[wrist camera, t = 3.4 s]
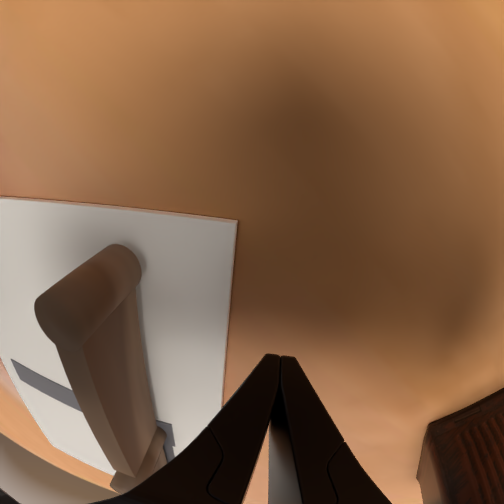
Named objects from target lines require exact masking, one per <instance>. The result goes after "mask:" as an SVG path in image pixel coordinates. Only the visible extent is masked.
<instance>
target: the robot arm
mask: <svg viewBox="0 0 504 504" xmlns="http://www.w3.org/2000/svg"><path fill="white" fill-rule="evenodd" d="M268 425H269V490H268V504H392V503H391V502H390V501H389V500H388V498H387V497H386V496H385V495H384V494H383V493H382V491H381V490H380V489H379V488H378V487H377V485H376V484H375V483H374V482H373V481H372V479H371V478H370V477H369V476H368V474H367V473H366V472H365V470H364V469H363V468H362V467H361V465H360V464H359V462H358V461H357V459H356V458H355V456H354V455H353V453H352V452H351V450H350V448H349V447H348V445H347V443H346V442H344V438H343V437H342V435H341V434H340V432H339V430H338V429H337V427H336V425H335V424H334V422H333V420H332V419H331V417H330V415H329V414H328V412H327V410H326V409H325V407H324V405H323V404H322V402H321V400H320V398H319V397H318V395H317V393H316V392H315V390H314V388H313V387H312V385H311V383H310V382H309V380H308V378H307V377H306V375H305V373H304V371H303V370H302V368H301V366H300V365H299V363H298V361H297V360H296V358H295V357H291V356H284V355H283V356H281V357H280V356H279V355H276V354H269V353H267V354H265V355H264V357H263V358H262V359H261V361H260V362H259V363H258V364H257V366H256V367H255V368H254V369H253V371H252V372H251V373H250V375H249V376H248V377H247V378H246V380H245V381H244V382H243V383H242V384H241V386H240V387H239V388H238V389H237V391H236V392H235V393H234V394H233V395H232V397H231V398H230V399H229V400H228V401H227V403H226V404H225V405H224V406H223V407H222V409H221V410H220V411H219V412H218V413H217V414H216V416H215V417H214V418H213V419H212V420H211V421H210V423H209V424H208V425H207V427H205V428H204V429H203V430H202V431H201V433H200V434H199V435H198V436H197V437H196V438H195V439H194V440H193V441H192V442H191V443H190V444H189V445H188V446H187V447H186V448H185V449H184V450H183V451H182V452H180V453H179V454H178V455H177V456H176V457H175V458H173V459H172V460H171V461H170V462H168V463H167V464H166V465H164V466H163V467H162V468H161V469H159V470H158V471H157V472H155V473H154V474H153V475H151V476H150V477H148V478H147V479H146V480H144V481H143V482H142V483H140V484H139V485H137V486H136V487H134V488H133V489H131V490H129V491H128V492H126V493H124V494H121V495H119V496H117V497H114V498H111V499H106V500H102V501H98V502H94V503H89V504H243V503H244V500H245V497H246V494H247V491H248V488H249V485H250V482H251V479H252V476H253V473H254V470H255V467H256V464H257V461H258V458H259V455H260V452H261V449H262V445H263V442H264V439H265V436H266V432H267V429H268ZM0 504H20V503H19V502H17V501H16V500H15V499H13V498H12V497H11V496H10V495H8V494H7V493H6V492H5V491H3V490H2V489H1V488H0Z"/></svg>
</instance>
